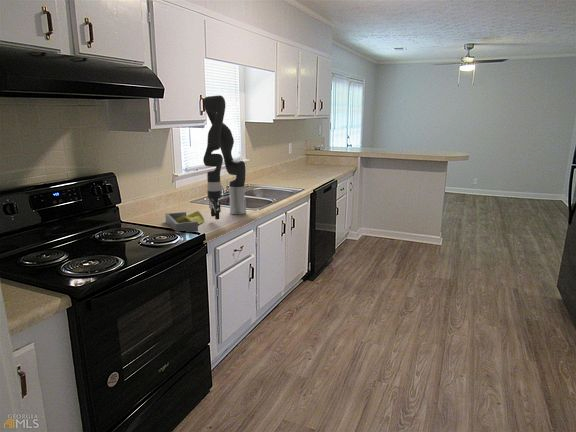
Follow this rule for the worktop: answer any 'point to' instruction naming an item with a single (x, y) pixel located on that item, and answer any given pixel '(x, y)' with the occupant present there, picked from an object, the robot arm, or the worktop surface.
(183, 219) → the plastic component
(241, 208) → the robot arm
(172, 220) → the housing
